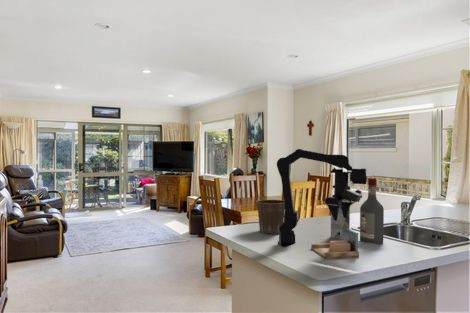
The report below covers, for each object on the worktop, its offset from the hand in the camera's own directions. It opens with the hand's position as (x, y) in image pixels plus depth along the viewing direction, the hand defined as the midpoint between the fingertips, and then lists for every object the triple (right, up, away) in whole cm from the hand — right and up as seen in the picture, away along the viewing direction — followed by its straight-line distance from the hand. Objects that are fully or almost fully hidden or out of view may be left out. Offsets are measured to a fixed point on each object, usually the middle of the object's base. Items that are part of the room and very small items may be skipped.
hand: (340, 219), depth 153 cm
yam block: (-3, -11, -9) cm, 15 cm away
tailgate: (+2, -8, -8) cm, 12 cm away
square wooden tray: (-6, -13, -10) cm, 17 cm away
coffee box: (+6, -13, +20) cm, 24 cm away
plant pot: (-27, -13, +32) cm, 44 cm away
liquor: (+18, -13, +12) cm, 25 cm away
